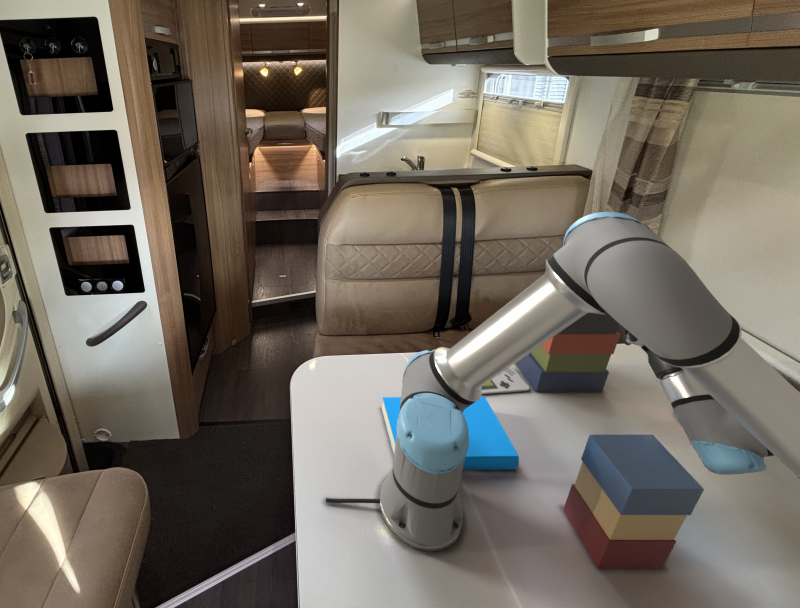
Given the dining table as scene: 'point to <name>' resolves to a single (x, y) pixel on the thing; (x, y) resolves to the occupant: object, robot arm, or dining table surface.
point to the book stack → (573, 357)
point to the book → (485, 436)
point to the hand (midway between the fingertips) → (620, 267)
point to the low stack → (630, 501)
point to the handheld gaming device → (505, 383)
